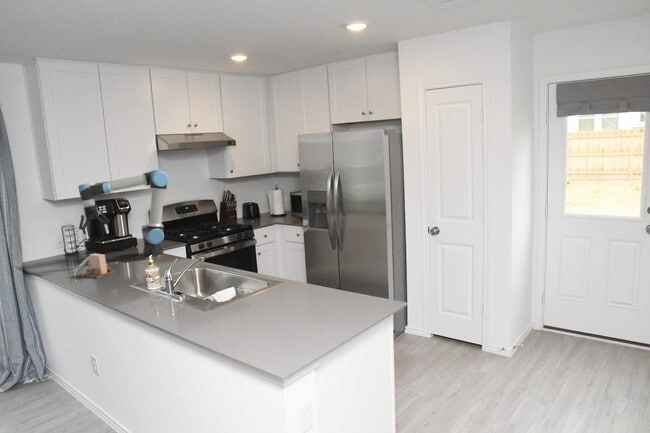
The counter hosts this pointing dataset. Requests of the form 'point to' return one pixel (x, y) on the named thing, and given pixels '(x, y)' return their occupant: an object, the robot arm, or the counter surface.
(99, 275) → the rack
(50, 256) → the counter surface
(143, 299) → the counter surface
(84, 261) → the bracket
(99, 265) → the salmon pink square block
